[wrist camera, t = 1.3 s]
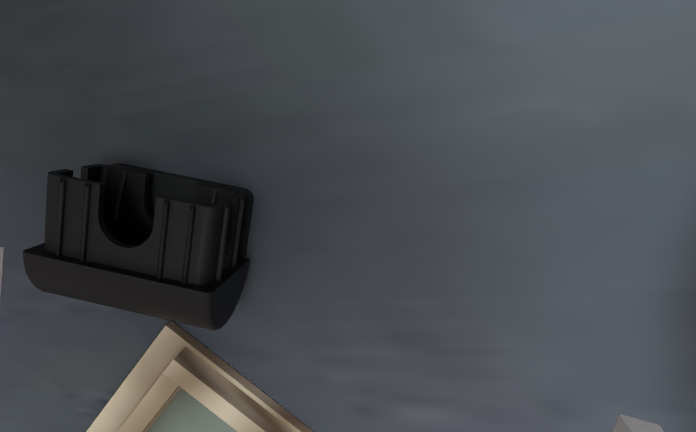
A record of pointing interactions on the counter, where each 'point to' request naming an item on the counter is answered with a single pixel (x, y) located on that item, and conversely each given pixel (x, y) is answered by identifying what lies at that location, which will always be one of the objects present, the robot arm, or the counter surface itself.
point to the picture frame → (190, 394)
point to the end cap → (144, 243)
